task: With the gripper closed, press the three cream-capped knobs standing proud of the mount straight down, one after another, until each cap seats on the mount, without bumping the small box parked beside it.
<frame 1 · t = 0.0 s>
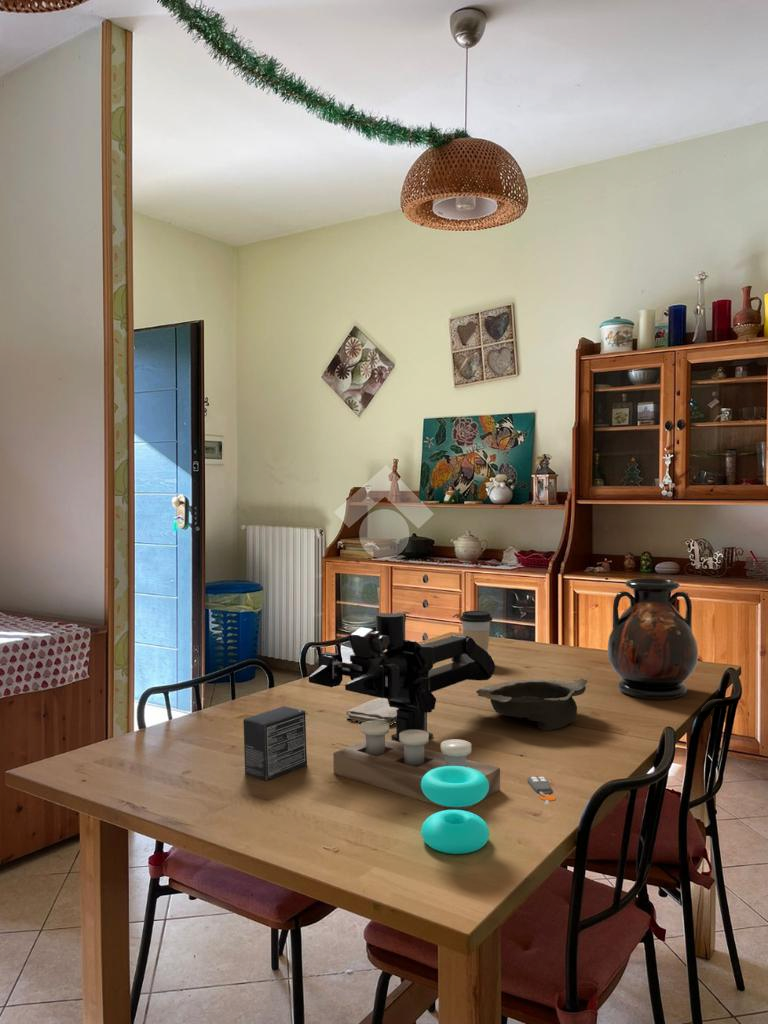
hand: (327, 683, 145), 17 cm above the table, tool horizontal, fingers open, 9 cm apart
knob 2: (456, 759, 135), point 6 cm above the table, slide at 0.0 cm
knob 1: (375, 738, 146), point 6 cm above the table, slide at 0.0 cm
small box: (276, 770, 147), on the table
knob middle: (414, 748, 140), point 6 cm above the table, slide at 0.0 cm
amphora vase: (651, 693, 198), on the table
mount: (414, 781, 141), on the table
washcloth: (386, 716, 182), on the table
key chain: (544, 798, 134), on the table
stone bowl: (531, 720, 177), on the table
donuts: (455, 843, 117), on the table
coffee cup: (476, 664, 231), on the table
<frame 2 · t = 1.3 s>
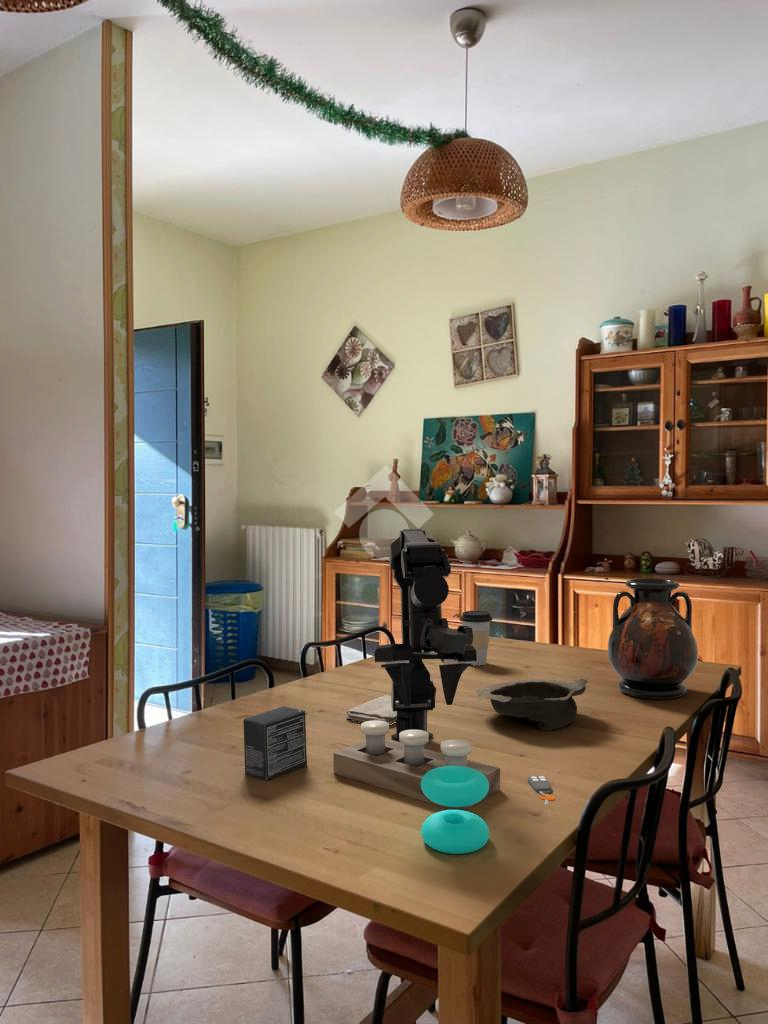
hand: (428, 705, 134), 15 cm above the table, tool tilted 15°, fingers open, 9 cm apart
nothing on the table moved.
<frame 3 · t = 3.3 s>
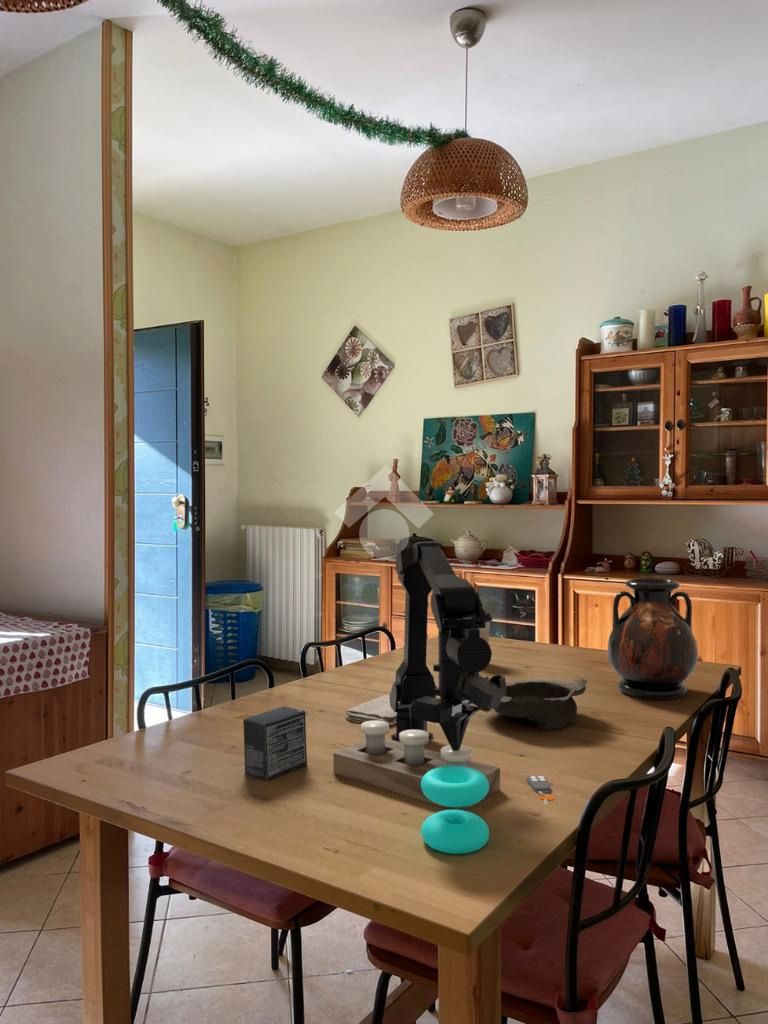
hand: (455, 749, 135), 8 cm above the table, tool pointing down, fingers closed, pressing on knob 2
knob 2: (456, 765, 135), point 5 cm above the table, slide at 1.0 cm, touching gripper
everything else where it was.
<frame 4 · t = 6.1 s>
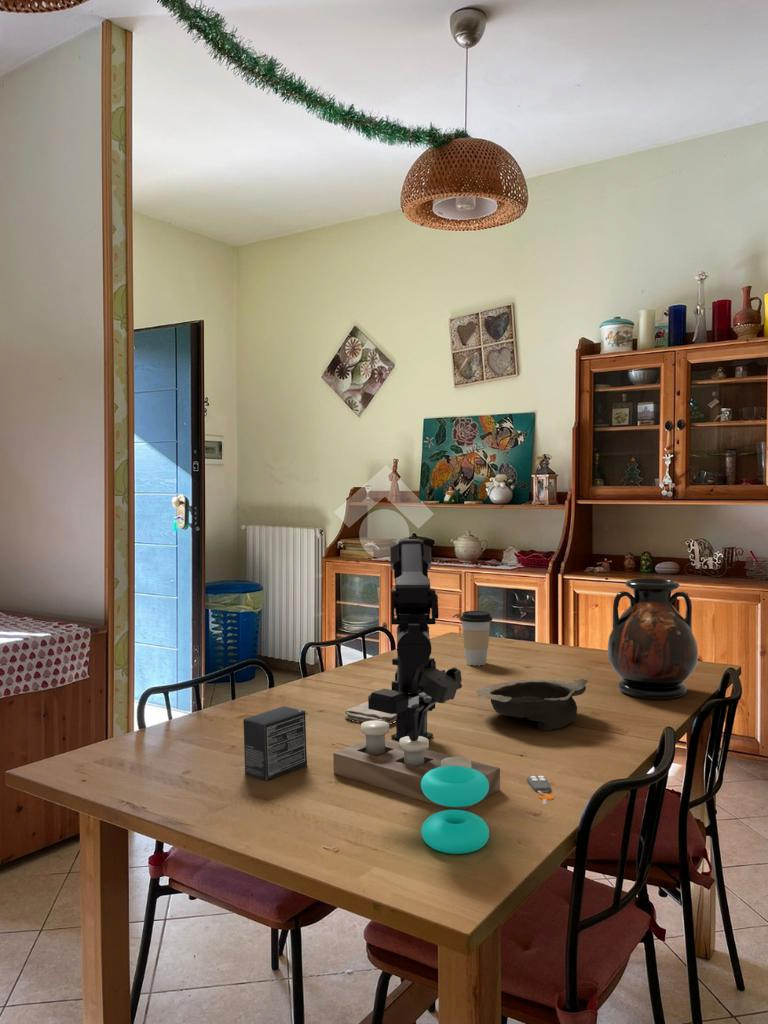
hand: (414, 740, 140), 7 cm above the table, tool pointing down, fingers closed, pressing on knob middle
knob 2: (456, 777, 135), point 3 cm above the table, slide at 3.1 cm
knob middle: (414, 754, 140), point 5 cm above the table, slide at 1.1 cm, touching gripper
everything else where it was.
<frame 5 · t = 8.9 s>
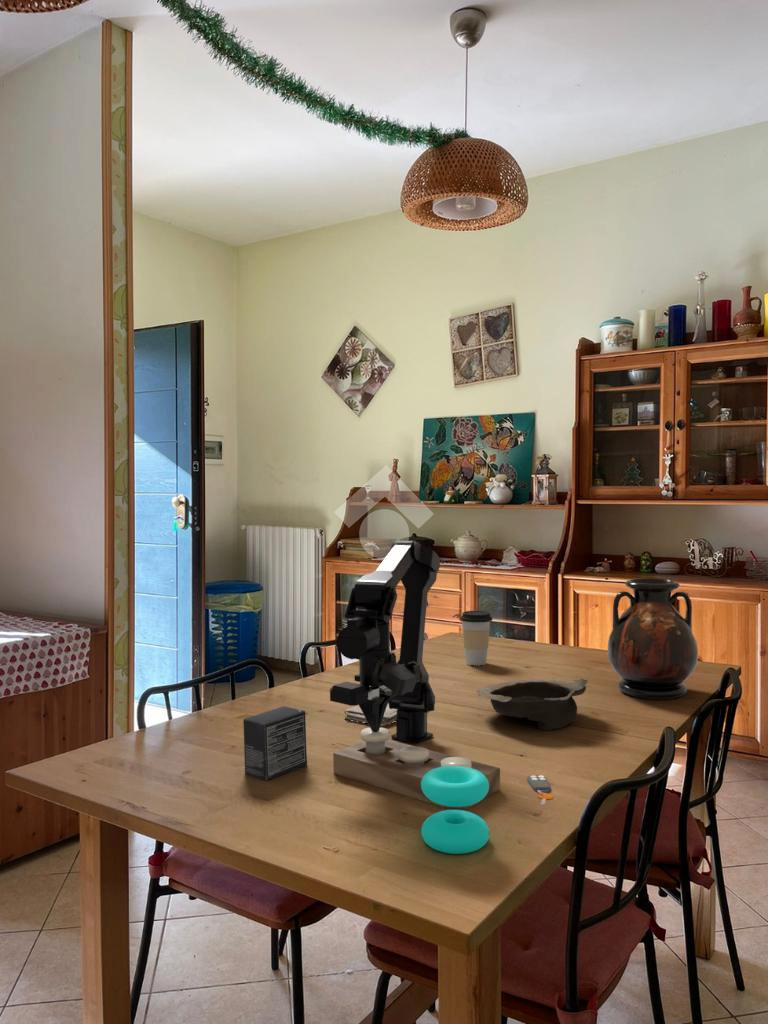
hand: (375, 731, 146), 7 cm above the table, tool pointing down, fingers closed, pressing on knob 1
knob 1: (375, 745, 146), point 5 cm above the table, slide at 1.3 cm, touching gripper
knob middle: (414, 765, 140), point 3 cm above the table, slide at 3.1 cm
everything else where it was.
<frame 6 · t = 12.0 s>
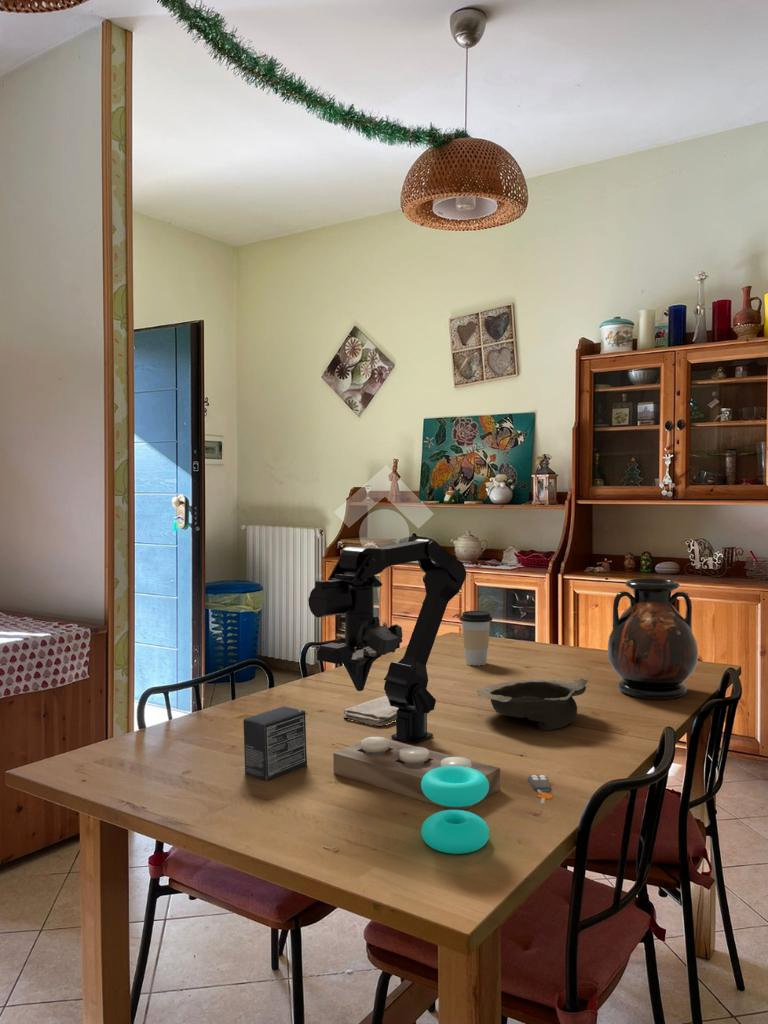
hand: (359, 690, 155), 13 cm above the table, tool pointing down, fingers closed
knob 1: (375, 755, 146), point 3 cm above the table, slide at 3.1 cm
everything else where it was.
at the end: knob 2 slide at 3.1 cm; knob middle slide at 3.1 cm; knob 1 slide at 3.1 cm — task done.
